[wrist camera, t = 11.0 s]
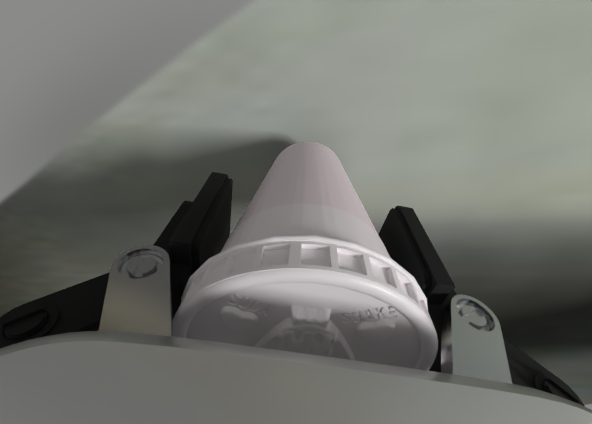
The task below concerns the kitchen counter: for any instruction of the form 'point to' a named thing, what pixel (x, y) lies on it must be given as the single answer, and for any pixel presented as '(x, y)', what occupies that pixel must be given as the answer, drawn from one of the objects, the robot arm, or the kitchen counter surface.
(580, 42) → the kitchen counter surface
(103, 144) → the kitchen counter surface
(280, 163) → the smoothie
